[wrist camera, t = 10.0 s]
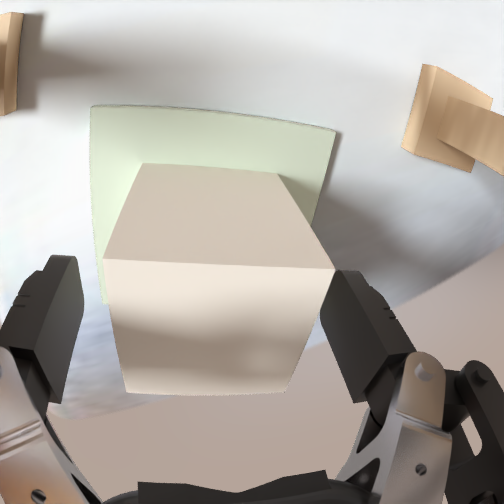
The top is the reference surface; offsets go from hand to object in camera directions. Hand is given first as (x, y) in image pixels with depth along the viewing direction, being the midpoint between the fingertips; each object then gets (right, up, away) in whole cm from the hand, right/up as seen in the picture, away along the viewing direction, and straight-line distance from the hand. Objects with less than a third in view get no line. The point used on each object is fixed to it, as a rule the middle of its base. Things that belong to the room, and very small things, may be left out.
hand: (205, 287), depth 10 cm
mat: (-1, +2, +4) cm, 4 cm away
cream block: (-1, +2, +3) cm, 4 cm away
